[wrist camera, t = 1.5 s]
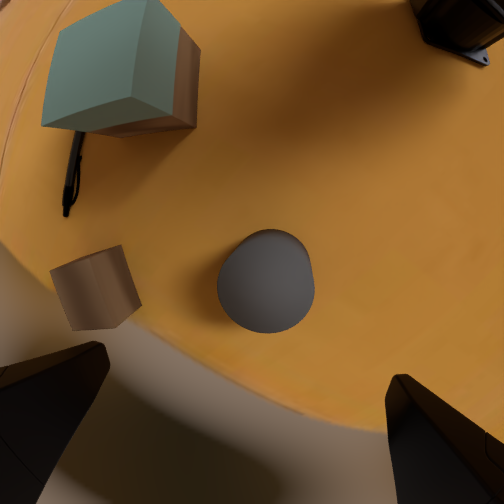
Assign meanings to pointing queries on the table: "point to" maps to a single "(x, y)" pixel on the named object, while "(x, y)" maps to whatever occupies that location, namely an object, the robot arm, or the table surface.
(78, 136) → the pen
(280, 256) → the stone
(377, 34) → the table surface
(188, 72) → the tower base
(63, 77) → the tower top
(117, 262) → the block
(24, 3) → the table surface
